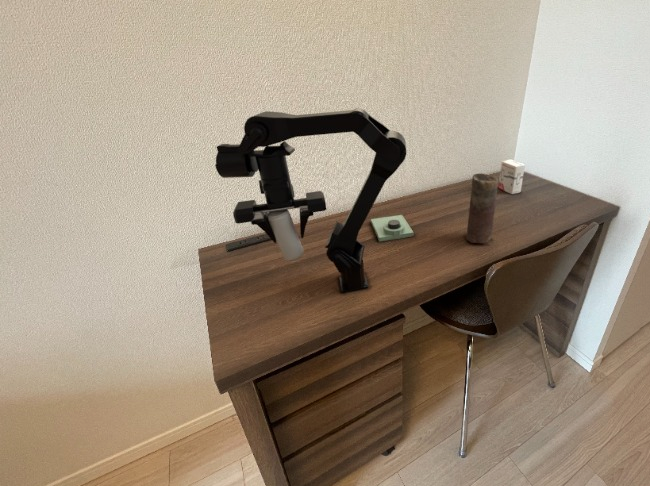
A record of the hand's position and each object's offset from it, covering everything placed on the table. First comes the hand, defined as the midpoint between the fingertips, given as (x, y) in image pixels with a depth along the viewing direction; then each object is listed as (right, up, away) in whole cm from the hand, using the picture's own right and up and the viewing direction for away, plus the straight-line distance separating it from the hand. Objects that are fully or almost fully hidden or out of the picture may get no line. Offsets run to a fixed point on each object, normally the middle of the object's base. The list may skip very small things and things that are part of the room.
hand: (289, 239), depth 74 cm
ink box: (+71, +17, +59) cm, 94 cm away
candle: (+50, -1, +24) cm, 55 cm away
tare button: (+24, +2, +26) cm, 35 cm away
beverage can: (+1, -4, +2) cm, 5 cm away
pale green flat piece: (+23, +2, +30) cm, 38 cm away
